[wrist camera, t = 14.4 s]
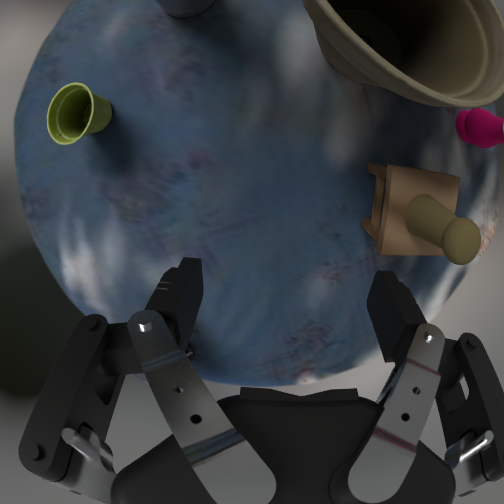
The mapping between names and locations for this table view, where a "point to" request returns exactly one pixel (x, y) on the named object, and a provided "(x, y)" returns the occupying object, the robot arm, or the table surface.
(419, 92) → the plant pot
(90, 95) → the plant pot
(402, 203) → the footstool
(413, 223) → the cork
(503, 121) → the pepper mill
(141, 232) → the table surface
